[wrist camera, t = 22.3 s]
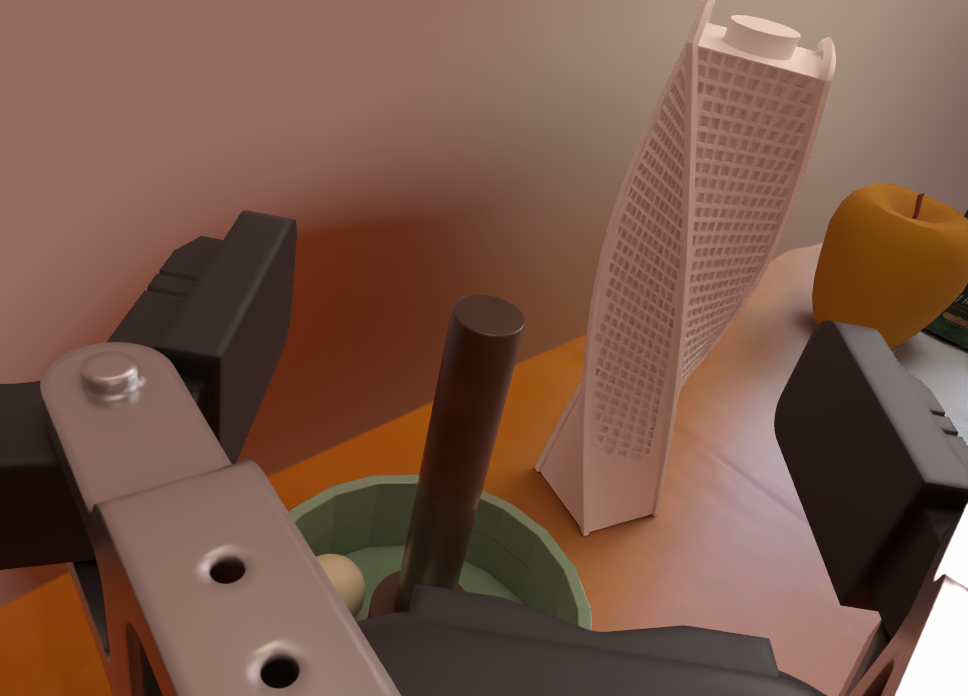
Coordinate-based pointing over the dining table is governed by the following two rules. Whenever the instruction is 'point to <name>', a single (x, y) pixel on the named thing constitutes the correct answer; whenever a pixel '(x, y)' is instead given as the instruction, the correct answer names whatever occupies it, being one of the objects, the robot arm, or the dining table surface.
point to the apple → (890, 262)
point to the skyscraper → (684, 252)
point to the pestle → (456, 447)
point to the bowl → (489, 557)
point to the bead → (345, 580)
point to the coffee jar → (953, 319)
